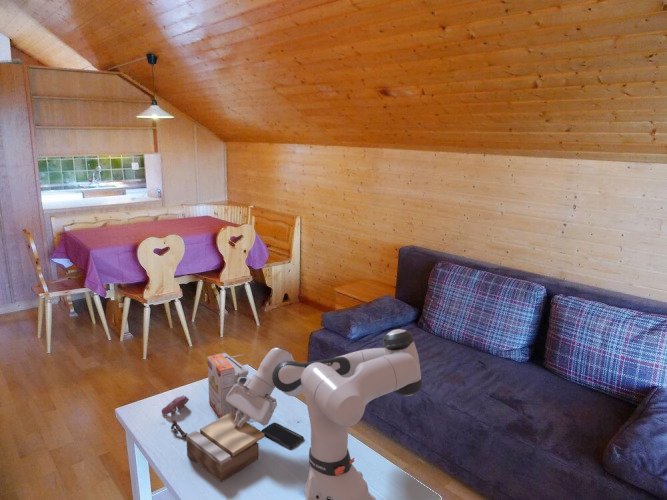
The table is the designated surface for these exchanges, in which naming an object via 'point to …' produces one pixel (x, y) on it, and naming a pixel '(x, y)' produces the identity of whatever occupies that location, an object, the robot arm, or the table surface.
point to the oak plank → (231, 434)
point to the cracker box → (220, 384)
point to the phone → (282, 435)
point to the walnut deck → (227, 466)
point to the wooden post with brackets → (178, 429)
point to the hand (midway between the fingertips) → (236, 425)
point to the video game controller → (175, 405)
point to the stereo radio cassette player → (236, 367)
